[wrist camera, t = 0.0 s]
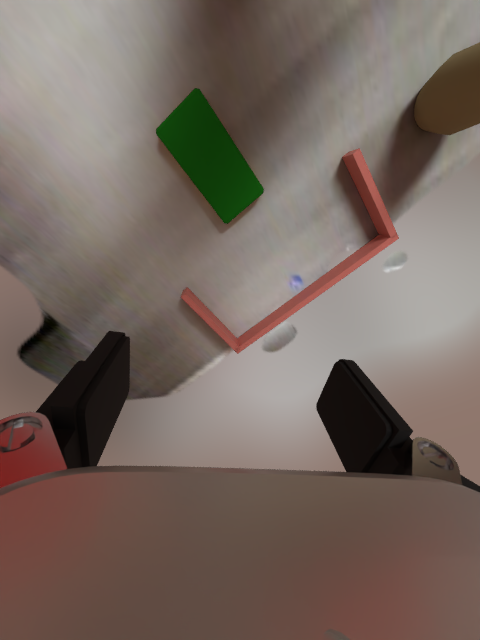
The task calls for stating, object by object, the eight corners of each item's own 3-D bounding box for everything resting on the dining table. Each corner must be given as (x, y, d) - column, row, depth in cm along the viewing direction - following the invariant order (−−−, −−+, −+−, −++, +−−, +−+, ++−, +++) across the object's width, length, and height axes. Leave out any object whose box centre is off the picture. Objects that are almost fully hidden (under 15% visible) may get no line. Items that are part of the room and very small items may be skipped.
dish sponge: (225, 223, 38) (225, 225, 36) (158, 135, 32) (153, 131, 30) (262, 191, 36) (265, 191, 34) (198, 93, 31) (197, 85, 28)
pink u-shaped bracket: (348, 152, 35) (359, 148, 32) (386, 235, 40) (398, 238, 38) (182, 290, 41) (180, 297, 39) (236, 344, 47) (237, 353, 45)
